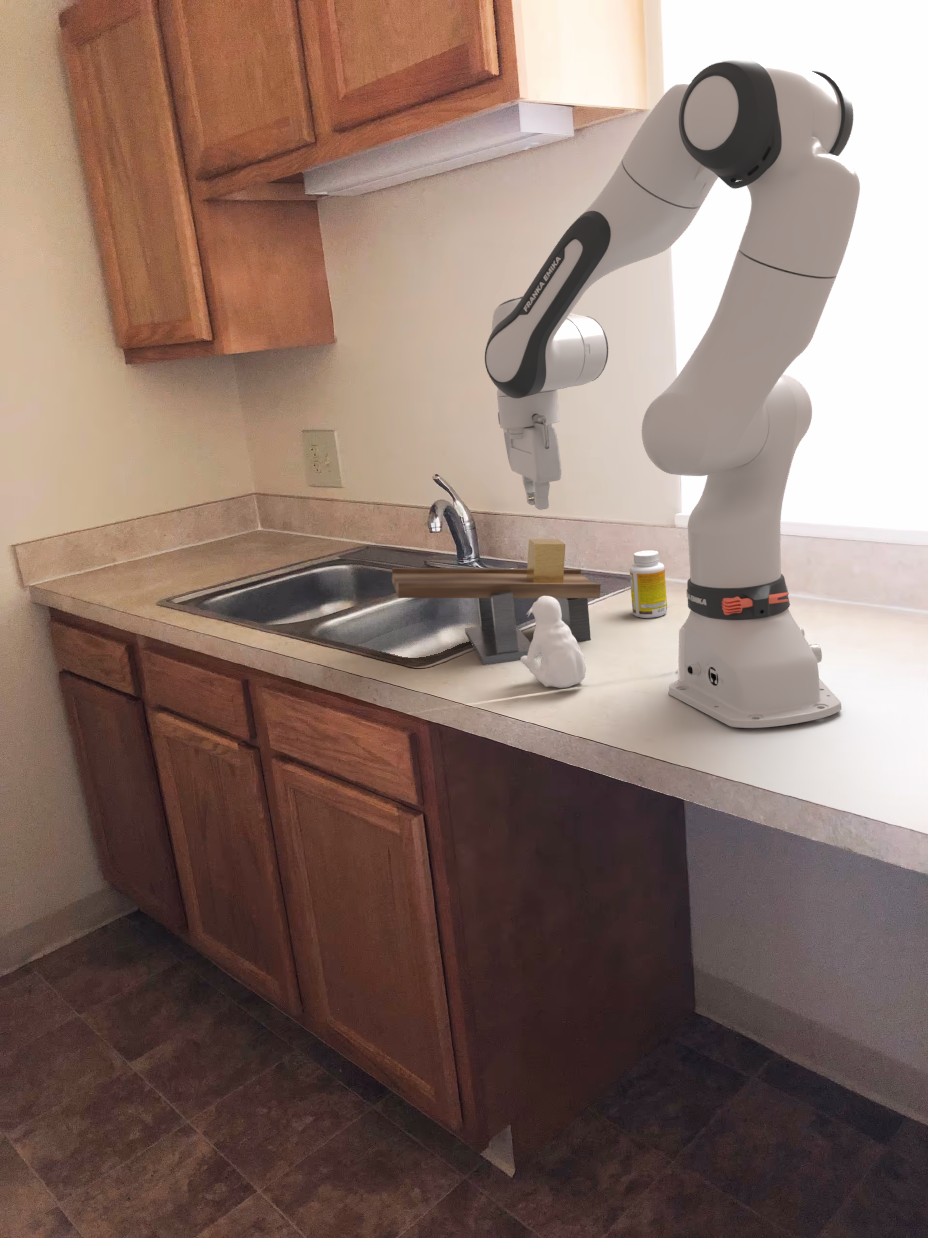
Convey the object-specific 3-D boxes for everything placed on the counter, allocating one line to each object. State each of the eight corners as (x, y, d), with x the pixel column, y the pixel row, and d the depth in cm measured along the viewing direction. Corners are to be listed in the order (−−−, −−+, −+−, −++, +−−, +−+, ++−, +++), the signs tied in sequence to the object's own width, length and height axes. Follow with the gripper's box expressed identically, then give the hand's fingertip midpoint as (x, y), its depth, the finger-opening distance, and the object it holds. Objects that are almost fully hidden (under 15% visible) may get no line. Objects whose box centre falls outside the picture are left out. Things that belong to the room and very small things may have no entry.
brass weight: (563, 583, 152) (565, 544, 150) (533, 583, 151) (535, 543, 150) (555, 577, 156) (558, 539, 155) (526, 577, 155) (528, 538, 154)
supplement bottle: (674, 613, 162) (671, 551, 159) (647, 621, 159) (643, 558, 157) (652, 607, 167) (648, 547, 164) (625, 615, 164) (621, 554, 162)
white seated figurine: (562, 696, 130) (554, 607, 127) (520, 683, 137) (511, 598, 134) (597, 683, 134) (590, 596, 131) (555, 671, 140) (547, 588, 137)
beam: (599, 604, 150) (600, 584, 149) (398, 604, 145) (398, 583, 144) (578, 587, 161) (579, 568, 160) (391, 586, 157) (392, 567, 156)
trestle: (598, 647, 149) (593, 582, 146) (483, 665, 147) (475, 599, 144) (570, 620, 165) (565, 560, 162) (465, 635, 163) (458, 575, 160)
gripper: (567, 412, 138) (576, 512, 141) (534, 408, 157) (543, 496, 161) (522, 418, 137) (532, 518, 140) (495, 413, 157) (504, 501, 160)
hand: (537, 506), depth 151 cm, fingers open, 4 cm apart
